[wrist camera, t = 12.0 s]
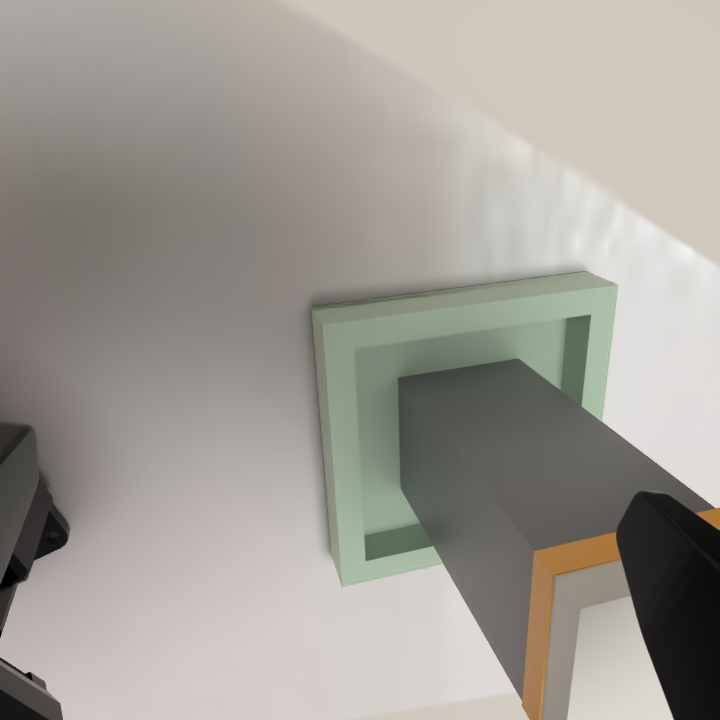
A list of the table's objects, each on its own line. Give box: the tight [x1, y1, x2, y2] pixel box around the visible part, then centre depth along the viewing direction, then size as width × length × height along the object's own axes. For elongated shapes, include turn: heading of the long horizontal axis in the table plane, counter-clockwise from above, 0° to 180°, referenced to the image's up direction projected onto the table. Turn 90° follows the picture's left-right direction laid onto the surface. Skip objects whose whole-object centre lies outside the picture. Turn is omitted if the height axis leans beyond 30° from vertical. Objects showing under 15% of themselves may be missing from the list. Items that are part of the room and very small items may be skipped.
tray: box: [311, 271, 618, 587], centre depth 25 cm, size 11×11×2 cm
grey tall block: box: [398, 358, 720, 720], centre depth 20 cm, size 5×5×12 cm
